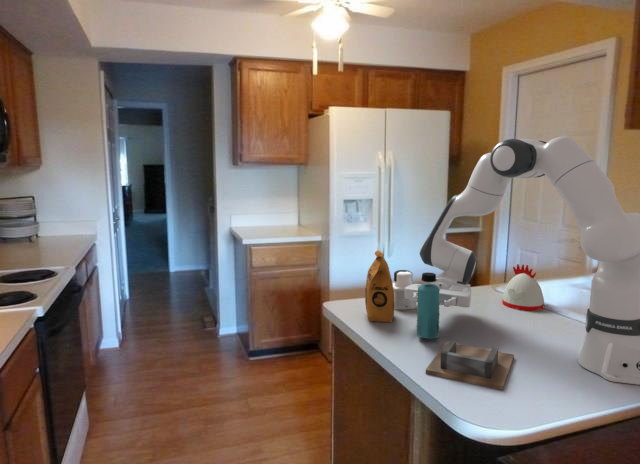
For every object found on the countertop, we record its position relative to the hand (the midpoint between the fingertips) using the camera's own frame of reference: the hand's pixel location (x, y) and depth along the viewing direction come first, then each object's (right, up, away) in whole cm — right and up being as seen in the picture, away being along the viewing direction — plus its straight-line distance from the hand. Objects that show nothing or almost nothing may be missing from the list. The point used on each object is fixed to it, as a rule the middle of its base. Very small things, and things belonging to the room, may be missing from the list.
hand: (430, 301), depth 137 cm
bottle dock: (+6, -14, -18) cm, 23 cm away
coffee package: (-13, -8, +20) cm, 25 cm away
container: (-3, -6, +31) cm, 32 cm away
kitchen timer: (+41, -6, +32) cm, 53 cm away
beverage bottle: (-1, -11, 0) cm, 11 cm away
